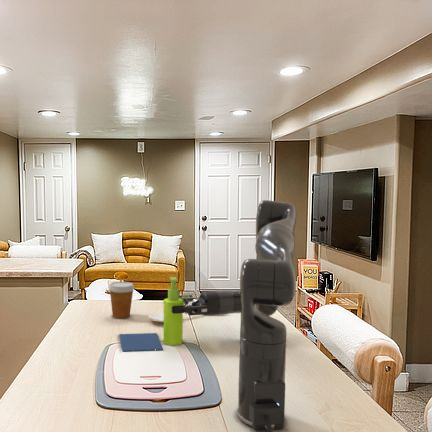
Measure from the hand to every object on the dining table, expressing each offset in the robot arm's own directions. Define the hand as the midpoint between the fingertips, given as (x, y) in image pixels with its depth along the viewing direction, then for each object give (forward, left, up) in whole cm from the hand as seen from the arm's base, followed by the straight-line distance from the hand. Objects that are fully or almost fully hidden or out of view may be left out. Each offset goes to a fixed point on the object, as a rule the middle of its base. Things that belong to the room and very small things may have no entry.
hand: (167, 306), depth 133 cm
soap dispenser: (0, -2, -11) cm, 12 cm away
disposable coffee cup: (+28, +12, -11) cm, 33 cm away
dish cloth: (0, +8, -11) cm, 14 cm away
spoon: (+24, -12, -11) cm, 29 cm away
